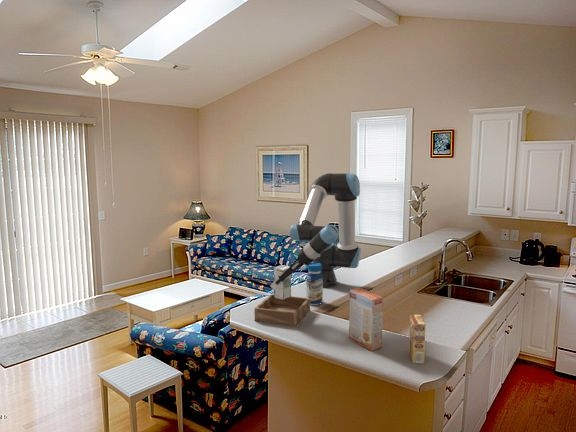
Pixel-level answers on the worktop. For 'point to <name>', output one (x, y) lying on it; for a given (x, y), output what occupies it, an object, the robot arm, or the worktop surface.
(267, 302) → the crate
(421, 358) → the candy box
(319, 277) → the beverage bottle
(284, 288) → the syrup box
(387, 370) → the worktop surface
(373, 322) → the cracker box
